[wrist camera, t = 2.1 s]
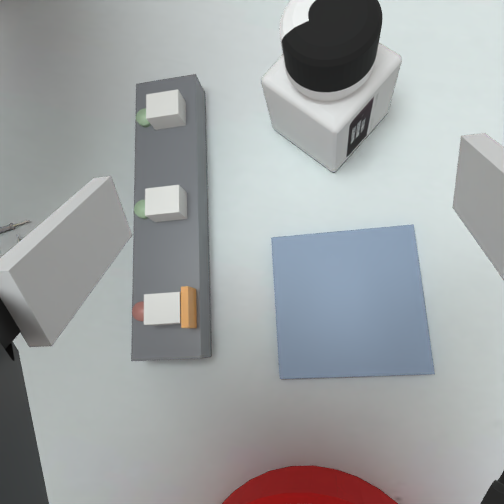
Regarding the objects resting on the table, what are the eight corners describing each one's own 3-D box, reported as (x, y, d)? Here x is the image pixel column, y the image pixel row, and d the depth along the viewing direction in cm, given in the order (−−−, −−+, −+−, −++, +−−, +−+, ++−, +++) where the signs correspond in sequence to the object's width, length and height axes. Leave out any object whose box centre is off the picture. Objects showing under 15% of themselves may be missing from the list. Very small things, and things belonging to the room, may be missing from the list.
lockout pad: (272, 239, 36) (271, 237, 35) (411, 227, 34) (413, 224, 33) (280, 378, 33) (279, 378, 33) (431, 373, 31) (434, 374, 31)
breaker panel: (149, 101, 42) (126, 70, 37) (204, 92, 41) (188, 60, 36) (147, 359, 36) (119, 362, 31) (211, 356, 35) (192, 359, 30)
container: (389, 112, 37) (421, -4, 24) (334, 175, 36) (337, 89, 24) (324, 70, 39) (322, -58, 26) (271, 128, 38) (244, 28, 26)
